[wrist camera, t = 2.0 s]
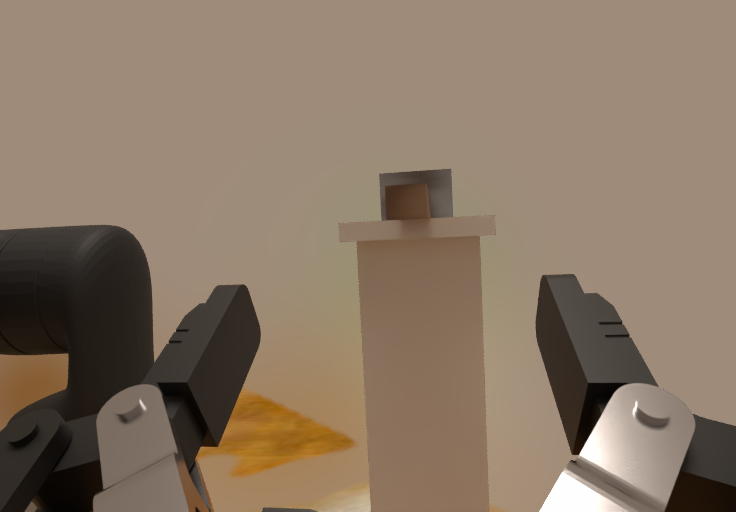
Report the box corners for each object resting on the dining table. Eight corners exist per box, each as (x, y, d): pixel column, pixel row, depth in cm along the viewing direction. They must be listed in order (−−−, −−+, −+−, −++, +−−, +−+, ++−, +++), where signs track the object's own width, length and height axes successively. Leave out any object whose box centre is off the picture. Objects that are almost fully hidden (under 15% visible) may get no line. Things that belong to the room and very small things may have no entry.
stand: (360, 609, 38) (338, 223, 36) (375, 535, 47) (358, 222, 45) (508, 622, 36) (495, 214, 34) (494, 542, 45) (483, 215, 43)
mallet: (356, 221, 27) (352, 153, 27) (387, 220, 43) (384, 178, 42) (459, 216, 26) (456, 145, 26) (451, 217, 42) (449, 173, 41)
